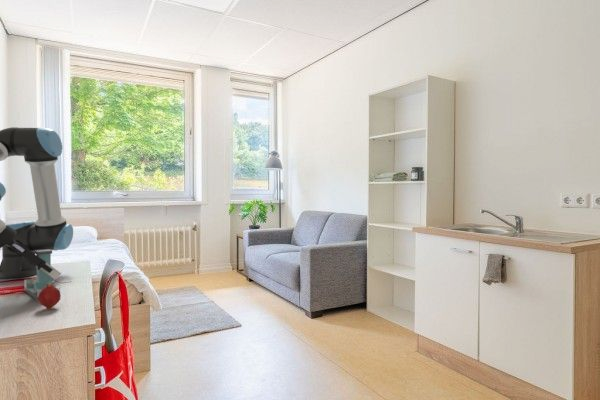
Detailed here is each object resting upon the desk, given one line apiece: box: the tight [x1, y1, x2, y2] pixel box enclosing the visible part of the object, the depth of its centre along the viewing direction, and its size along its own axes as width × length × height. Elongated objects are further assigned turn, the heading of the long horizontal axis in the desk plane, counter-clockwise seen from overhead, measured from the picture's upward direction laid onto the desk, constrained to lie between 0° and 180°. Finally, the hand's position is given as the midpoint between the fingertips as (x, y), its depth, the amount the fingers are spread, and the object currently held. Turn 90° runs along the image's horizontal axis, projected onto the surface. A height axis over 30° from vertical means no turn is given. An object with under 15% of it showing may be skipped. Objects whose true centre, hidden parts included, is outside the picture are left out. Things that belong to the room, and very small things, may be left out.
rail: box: [23, 277, 61, 303], centre depth 132 cm, size 22×6×4 cm, turn 47°
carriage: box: [33, 249, 55, 291], centre depth 130 cm, size 4×5×13 cm
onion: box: [37, 283, 62, 310], centre depth 116 cm, size 6×6×8 cm
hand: (56, 275), depth 132 cm, fingers closed on carriage, 3 cm apart
